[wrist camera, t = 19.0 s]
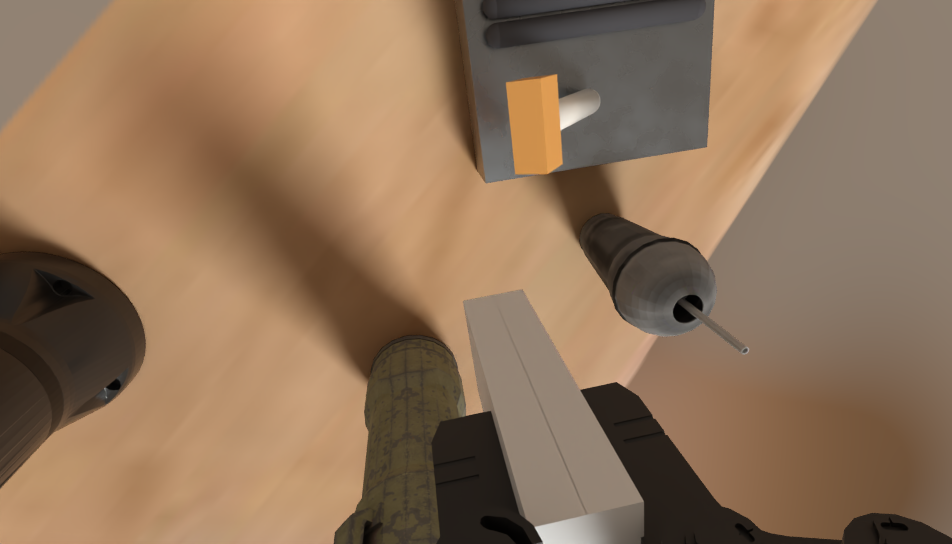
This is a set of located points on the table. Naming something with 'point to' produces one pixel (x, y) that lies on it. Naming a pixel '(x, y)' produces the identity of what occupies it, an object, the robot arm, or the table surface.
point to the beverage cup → (653, 277)
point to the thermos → (404, 442)
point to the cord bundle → (580, 18)
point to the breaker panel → (599, 68)
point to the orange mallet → (543, 121)
